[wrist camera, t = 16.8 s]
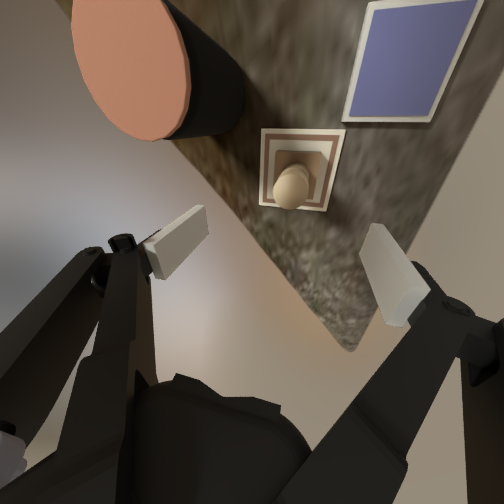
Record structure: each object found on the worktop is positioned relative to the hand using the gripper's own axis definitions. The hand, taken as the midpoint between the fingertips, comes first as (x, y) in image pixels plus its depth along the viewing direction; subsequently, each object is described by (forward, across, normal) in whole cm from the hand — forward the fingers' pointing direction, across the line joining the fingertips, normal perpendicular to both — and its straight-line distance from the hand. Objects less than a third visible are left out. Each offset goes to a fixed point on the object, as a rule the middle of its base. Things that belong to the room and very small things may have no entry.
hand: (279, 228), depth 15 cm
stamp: (+22, 0, 0) cm, 22 cm away
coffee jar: (+23, -14, +11) cm, 29 cm away
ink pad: (+23, +11, +13) cm, 28 cm away
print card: (+23, 0, 0) cm, 23 cm away
